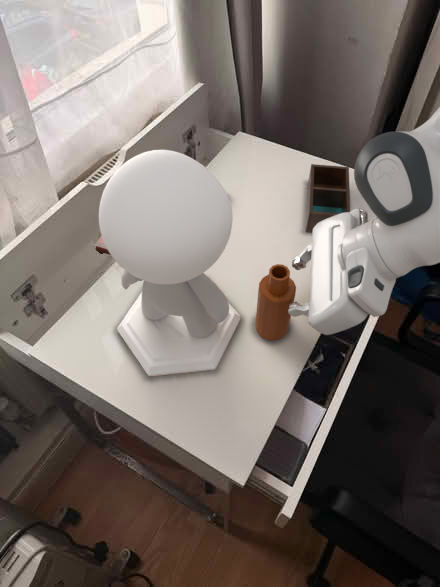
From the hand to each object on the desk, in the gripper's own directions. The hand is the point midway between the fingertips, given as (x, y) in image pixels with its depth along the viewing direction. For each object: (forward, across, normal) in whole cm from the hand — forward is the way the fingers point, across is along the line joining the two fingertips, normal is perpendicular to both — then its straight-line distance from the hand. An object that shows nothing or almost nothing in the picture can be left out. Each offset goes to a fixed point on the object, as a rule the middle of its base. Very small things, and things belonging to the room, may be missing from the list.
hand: (292, 287), depth 71 cm
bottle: (+10, +1, +6) cm, 12 cm away
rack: (+4, -32, +13) cm, 35 cm away
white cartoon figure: (+22, +3, -5) cm, 23 cm away
